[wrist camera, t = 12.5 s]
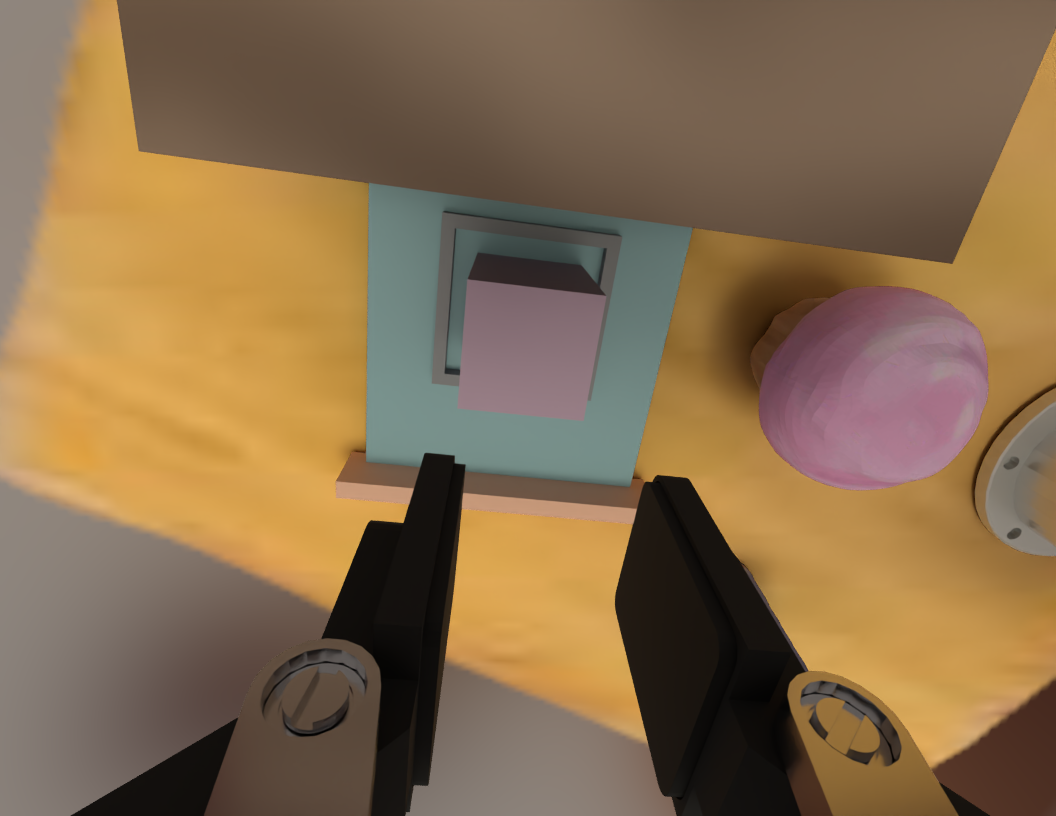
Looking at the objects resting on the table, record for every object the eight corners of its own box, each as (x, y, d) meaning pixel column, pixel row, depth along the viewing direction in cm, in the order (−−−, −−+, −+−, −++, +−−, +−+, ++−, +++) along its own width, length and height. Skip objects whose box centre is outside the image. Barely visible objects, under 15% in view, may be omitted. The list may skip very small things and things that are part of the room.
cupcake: (805, 442, 31) (928, 552, 22) (682, 383, 30) (760, 477, 20) (909, 307, 28) (1102, 371, 19) (778, 233, 26) (922, 264, 17)
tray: (352, 115, 23) (330, 106, 21) (720, 169, 25) (749, 169, 22) (352, 466, 31) (336, 497, 28) (639, 493, 32) (652, 525, 29)
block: (581, 265, 25) (606, 295, 19) (565, 363, 27) (583, 421, 21) (477, 252, 25) (467, 279, 19) (469, 352, 27) (457, 408, 21)
